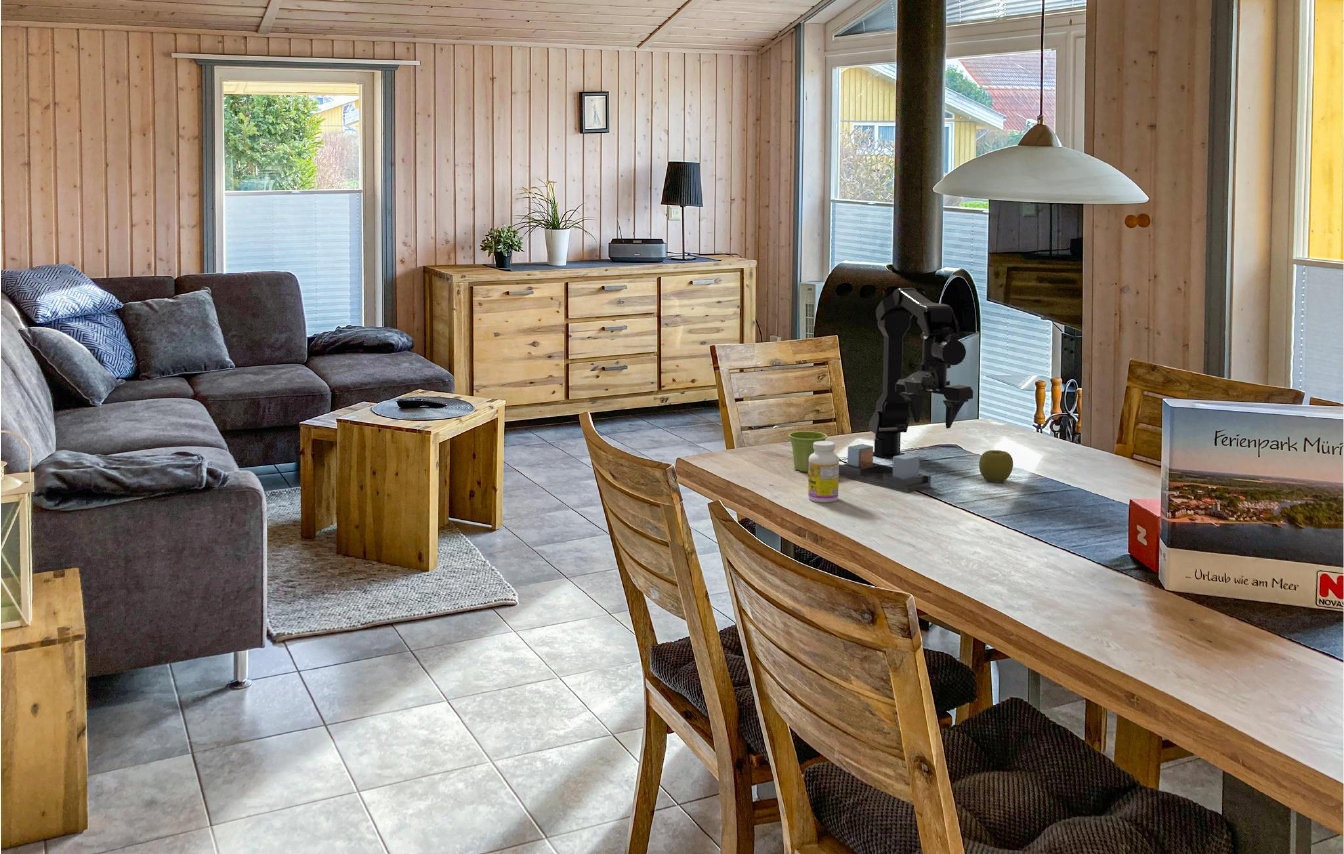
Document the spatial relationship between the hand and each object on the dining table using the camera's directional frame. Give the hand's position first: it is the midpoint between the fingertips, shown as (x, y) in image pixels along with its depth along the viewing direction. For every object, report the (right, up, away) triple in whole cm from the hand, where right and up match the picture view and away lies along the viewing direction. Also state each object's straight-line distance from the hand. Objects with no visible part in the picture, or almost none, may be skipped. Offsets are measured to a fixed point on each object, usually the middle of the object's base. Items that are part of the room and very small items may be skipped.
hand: (932, 425), depth 281 cm
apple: (+15, -13, 0) cm, 20 cm away
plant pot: (-28, -11, +13) cm, 33 cm away
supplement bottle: (-28, -17, -15) cm, 36 cm away
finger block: (-7, -13, -5) cm, 16 cm away
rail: (-12, -13, +1) cm, 17 cm away
